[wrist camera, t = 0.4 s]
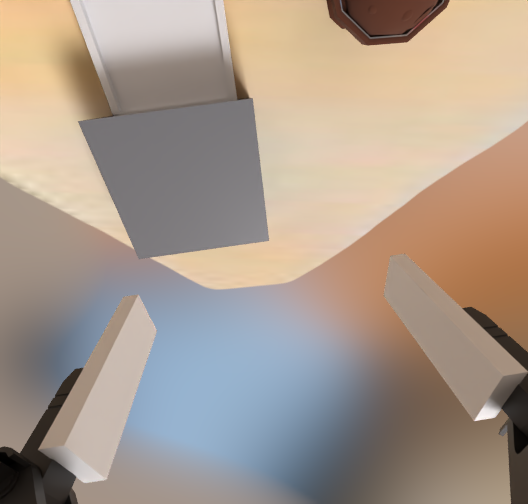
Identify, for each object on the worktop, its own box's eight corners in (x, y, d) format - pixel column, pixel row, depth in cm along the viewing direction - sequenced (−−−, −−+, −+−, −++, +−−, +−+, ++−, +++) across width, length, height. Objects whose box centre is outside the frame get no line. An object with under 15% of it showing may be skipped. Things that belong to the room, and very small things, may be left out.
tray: (47, -50, 23) (-4, -89, 18) (227, -71, 24) (224, -115, 19) (118, 139, 32) (96, 146, 27) (250, 121, 32) (253, 125, 27)
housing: (108, 116, 31) (78, 121, 25) (249, 98, 31) (252, 98, 25) (153, 234, 39) (138, 259, 33) (264, 218, 39) (269, 240, 33)
